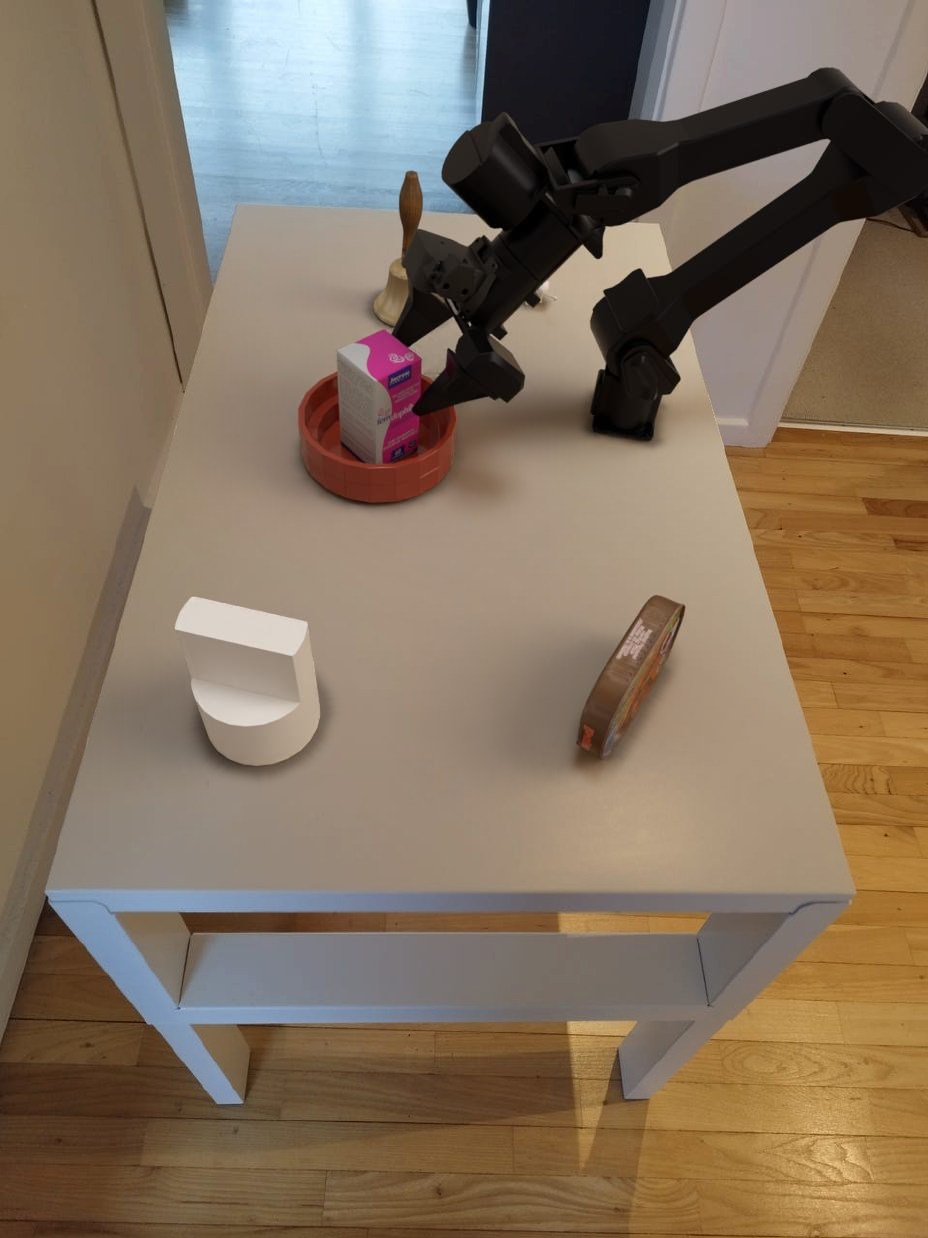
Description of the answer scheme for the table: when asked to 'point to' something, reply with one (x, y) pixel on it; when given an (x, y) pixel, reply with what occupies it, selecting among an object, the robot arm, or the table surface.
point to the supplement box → (378, 398)
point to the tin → (629, 676)
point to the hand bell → (397, 284)
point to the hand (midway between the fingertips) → (400, 382)
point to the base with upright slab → (250, 679)
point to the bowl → (372, 480)
